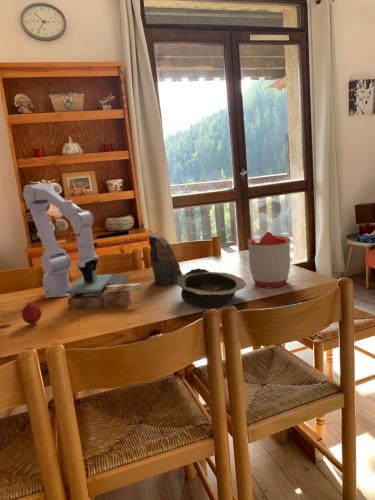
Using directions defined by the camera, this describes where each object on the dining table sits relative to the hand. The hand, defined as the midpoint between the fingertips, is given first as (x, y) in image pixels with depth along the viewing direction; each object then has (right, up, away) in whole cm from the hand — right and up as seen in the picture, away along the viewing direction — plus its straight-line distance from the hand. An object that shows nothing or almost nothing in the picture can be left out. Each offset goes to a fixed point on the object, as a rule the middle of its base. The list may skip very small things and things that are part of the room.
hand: (90, 280), depth 145 cm
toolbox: (+5, -7, +1) cm, 9 cm away
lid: (0, -1, 0) cm, 2 cm away
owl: (+28, -2, +17) cm, 33 cm away
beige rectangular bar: (+13, -3, -6) cm, 15 cm away
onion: (-14, -13, -17) cm, 26 cm away
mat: (+2, -2, +23) cm, 23 cm away
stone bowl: (+44, -6, -7) cm, 45 cm away
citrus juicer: (+67, -1, +6) cm, 67 cm away
